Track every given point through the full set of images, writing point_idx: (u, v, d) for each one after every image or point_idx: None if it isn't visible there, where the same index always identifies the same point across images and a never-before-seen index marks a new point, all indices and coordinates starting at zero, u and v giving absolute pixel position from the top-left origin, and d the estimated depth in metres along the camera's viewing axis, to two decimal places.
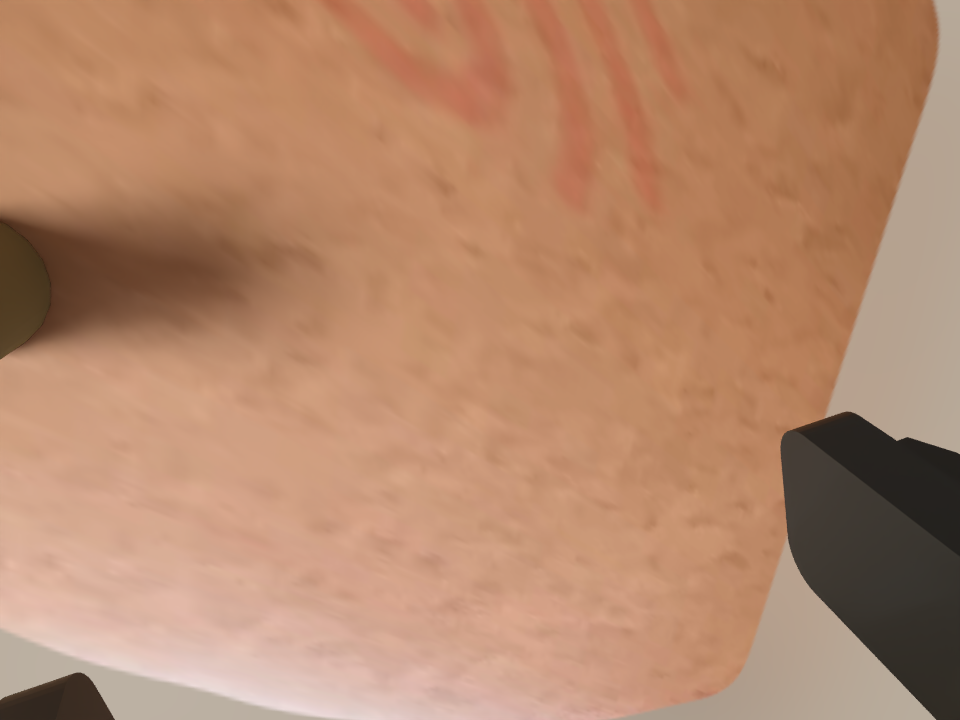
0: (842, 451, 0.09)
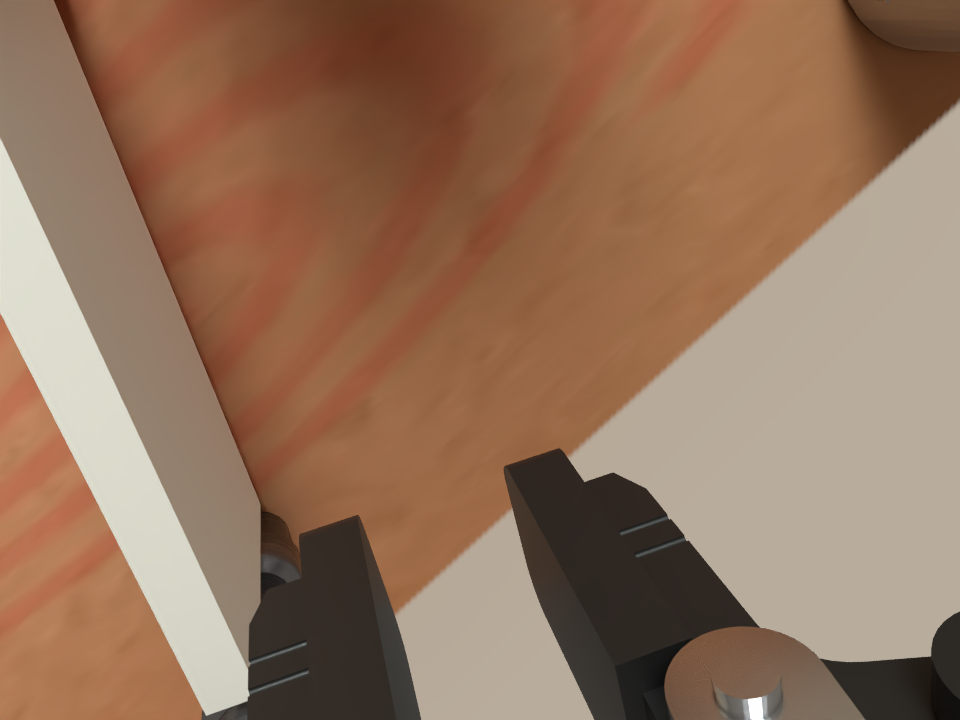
0: (532, 488, 0.09)
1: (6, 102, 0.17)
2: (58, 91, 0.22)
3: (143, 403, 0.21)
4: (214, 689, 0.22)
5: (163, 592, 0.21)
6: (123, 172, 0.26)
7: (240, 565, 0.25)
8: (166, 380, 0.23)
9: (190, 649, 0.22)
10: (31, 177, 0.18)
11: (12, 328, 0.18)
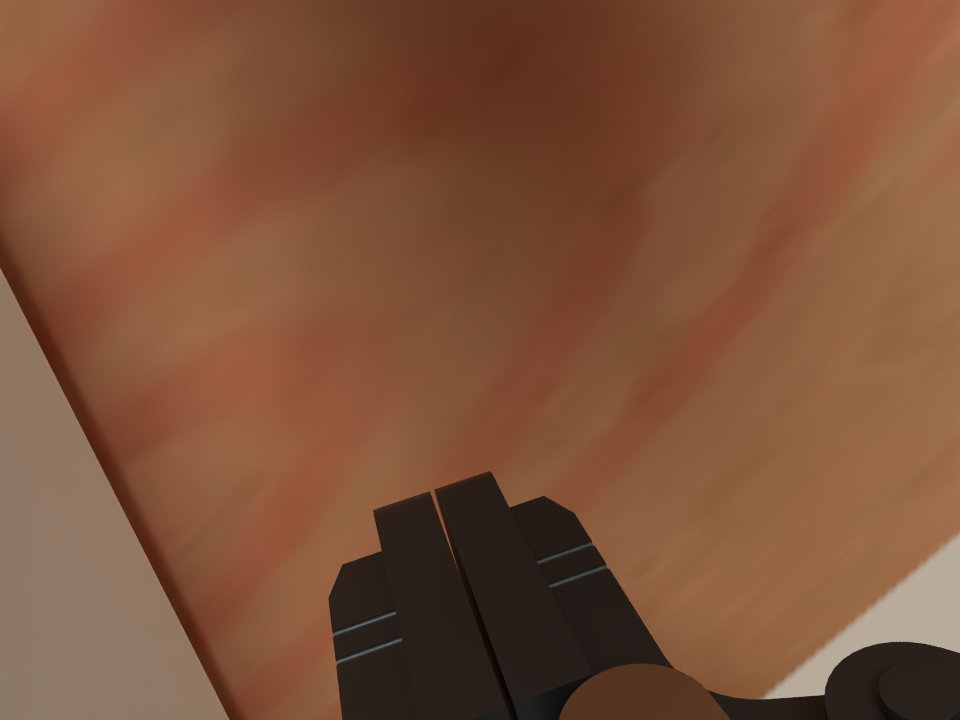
0: (458, 513, 0.09)
1: None
2: None
3: None
4: None
5: None
6: (24, 323, 0.14)
7: None
8: None
9: None
10: None
11: None
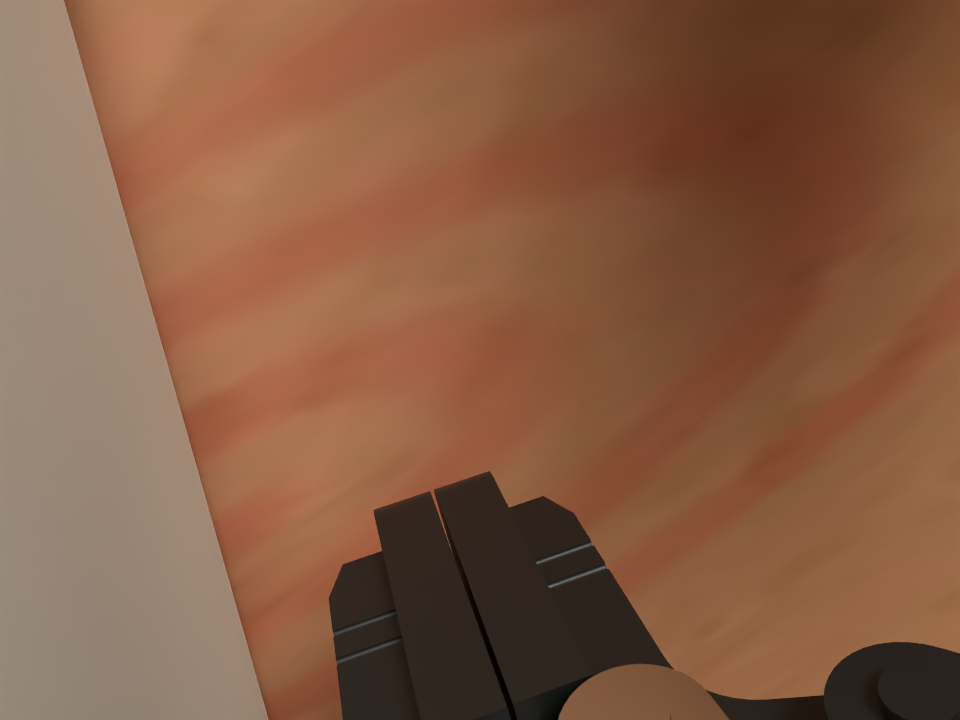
0: (457, 513, 0.09)
1: None
2: (17, 80, 0.09)
3: None
4: None
5: None
6: (134, 255, 0.13)
7: None
8: None
9: None
10: None
11: None
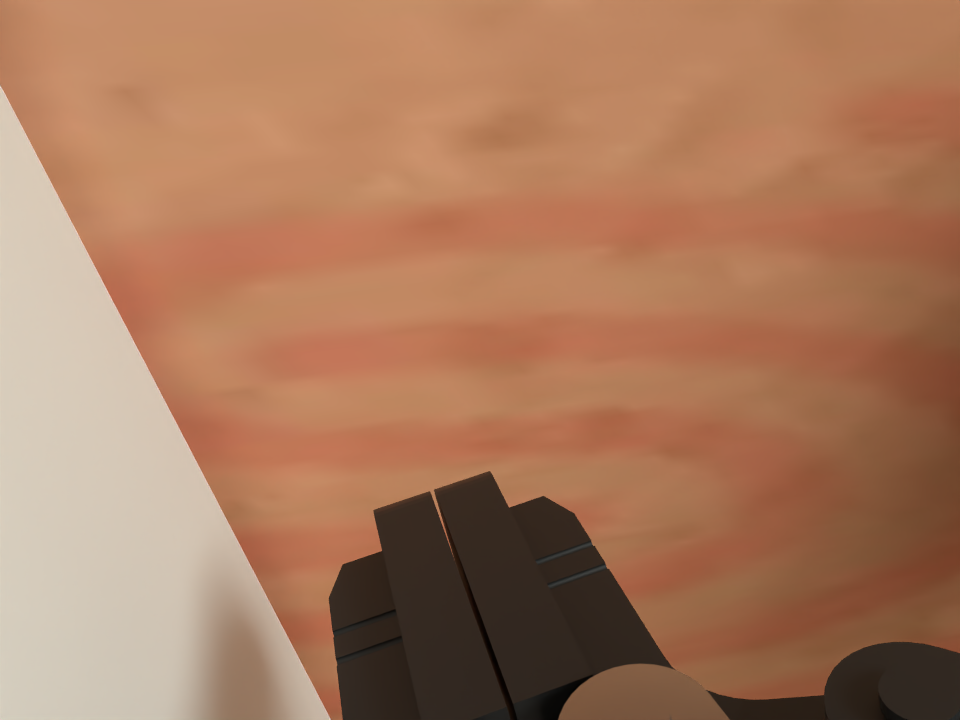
0: (457, 513, 0.09)
1: None
2: None
3: None
4: None
5: None
6: (90, 263, 0.13)
7: None
8: None
9: None
10: None
11: None
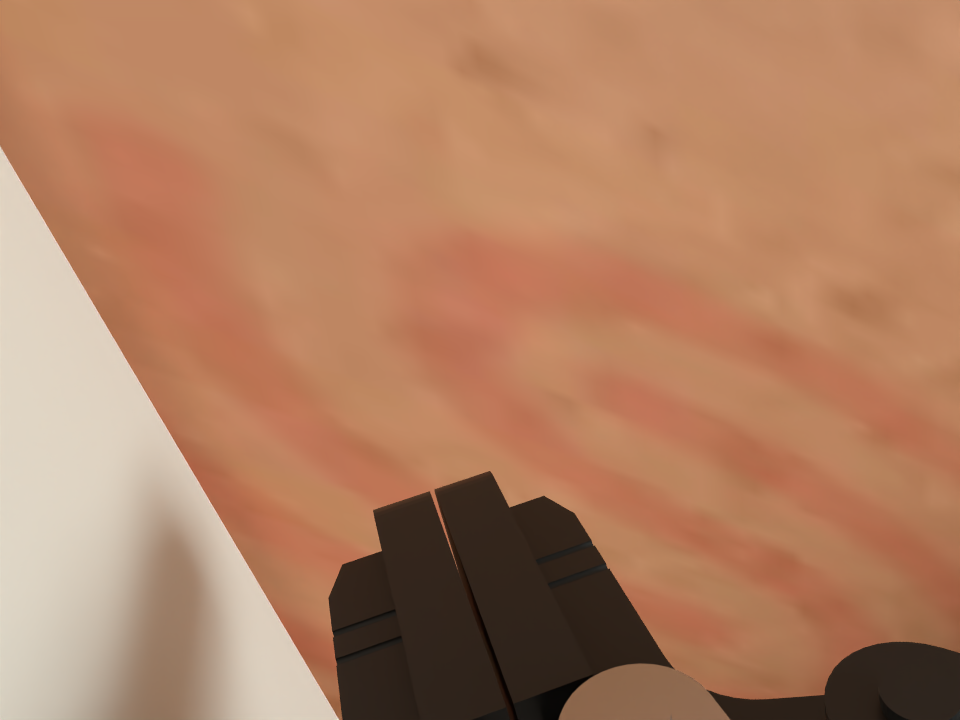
0: (457, 513, 0.09)
1: None
2: None
3: None
4: None
5: None
6: (78, 284, 0.13)
7: None
8: None
9: None
10: None
11: None
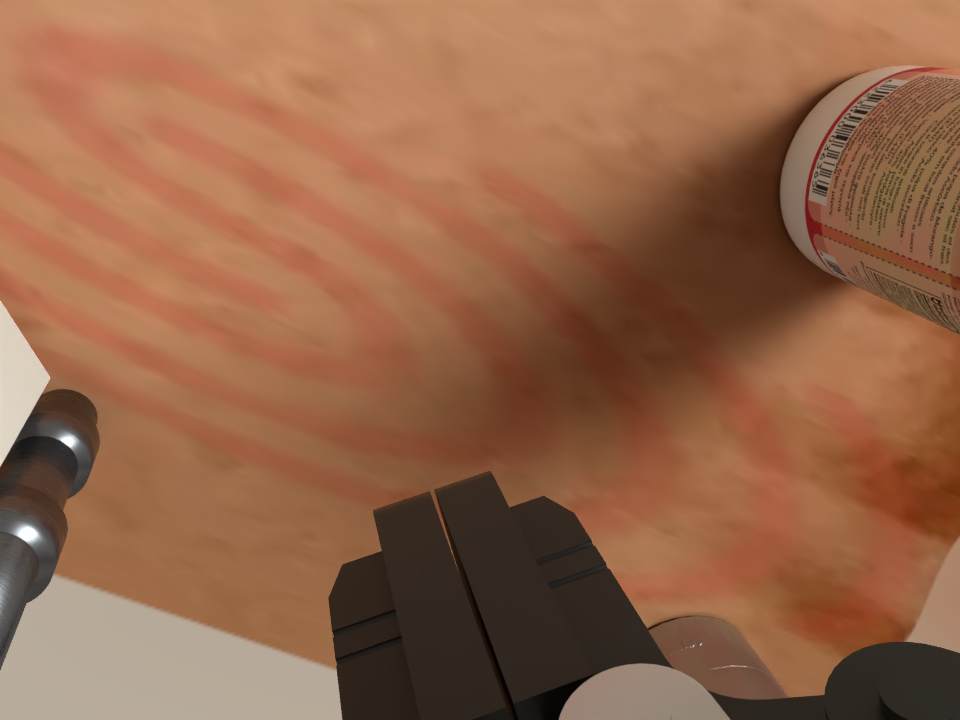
0: (457, 513, 0.09)
1: None
2: None
3: None
4: None
5: None
6: None
7: None
8: None
9: None
10: None
11: None
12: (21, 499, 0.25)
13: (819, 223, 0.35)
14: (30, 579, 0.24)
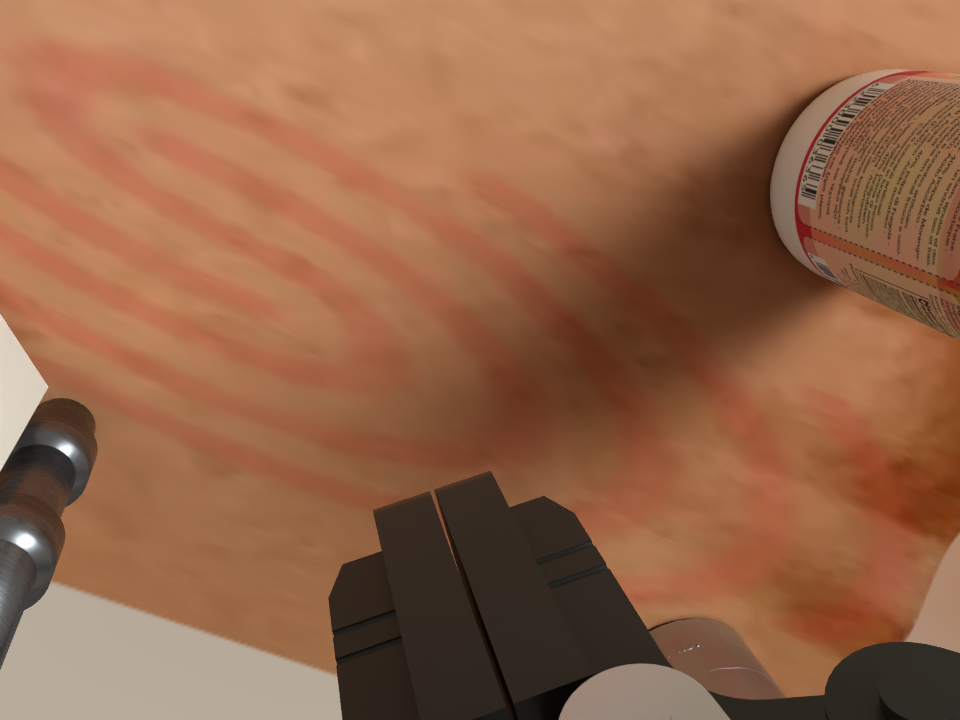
0: (457, 513, 0.09)
1: None
2: None
3: None
4: None
5: None
6: None
7: None
8: None
9: None
10: None
11: None
12: (19, 507, 0.26)
13: (808, 226, 0.35)
14: (28, 586, 0.24)
